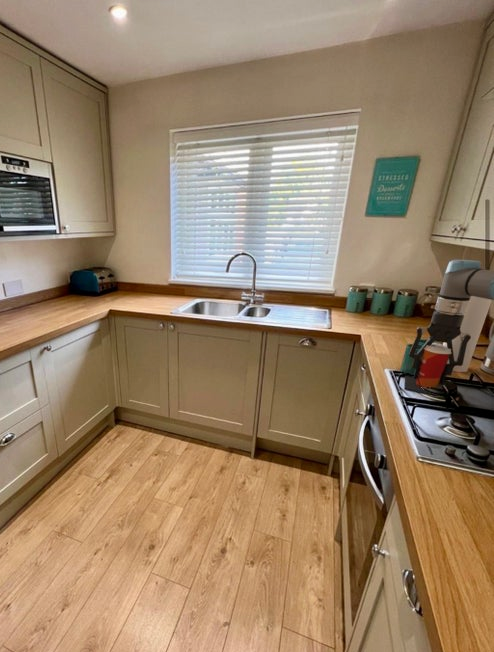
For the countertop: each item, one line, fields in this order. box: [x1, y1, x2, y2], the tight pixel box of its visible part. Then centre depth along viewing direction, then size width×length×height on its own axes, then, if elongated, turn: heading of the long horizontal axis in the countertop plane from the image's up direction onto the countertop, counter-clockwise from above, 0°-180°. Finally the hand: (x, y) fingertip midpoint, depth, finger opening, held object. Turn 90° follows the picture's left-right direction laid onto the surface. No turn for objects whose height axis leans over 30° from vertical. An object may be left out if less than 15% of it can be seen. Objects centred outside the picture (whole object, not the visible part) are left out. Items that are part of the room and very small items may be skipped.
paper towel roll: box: [442, 296, 493, 373], centre depth 122 cm, size 9×9×30 cm
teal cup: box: [399, 343, 423, 376], centre depth 119 cm, size 7×7×10 cm
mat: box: [403, 375, 440, 397], centre depth 110 cm, size 12×12×1 cm
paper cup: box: [416, 343, 451, 388], centre depth 107 cm, size 8×8×14 cm
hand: (427, 380), depth 109 cm, fingers closed on paper cup, 7 cm apart
